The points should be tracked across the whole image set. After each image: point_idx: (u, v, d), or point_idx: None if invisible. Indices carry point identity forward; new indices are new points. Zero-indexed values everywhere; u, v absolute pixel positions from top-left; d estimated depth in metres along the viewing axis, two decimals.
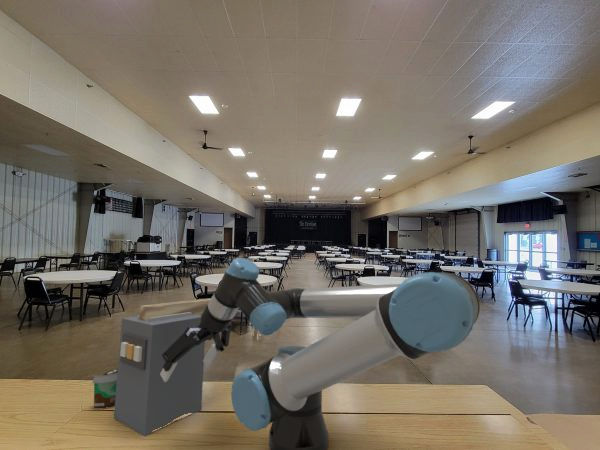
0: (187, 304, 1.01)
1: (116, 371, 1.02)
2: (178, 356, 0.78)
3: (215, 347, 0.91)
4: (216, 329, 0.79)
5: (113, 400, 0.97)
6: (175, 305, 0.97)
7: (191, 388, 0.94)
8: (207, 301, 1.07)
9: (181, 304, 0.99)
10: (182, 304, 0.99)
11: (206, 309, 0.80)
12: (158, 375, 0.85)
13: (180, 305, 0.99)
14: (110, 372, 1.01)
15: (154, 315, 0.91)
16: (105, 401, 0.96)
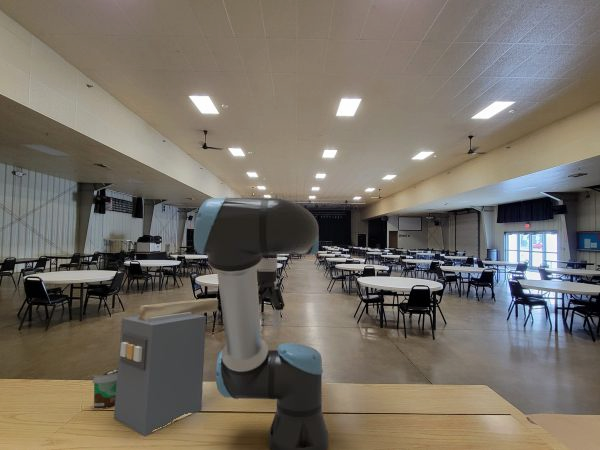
0: (187, 304, 1.01)
1: (116, 371, 1.02)
2: None
3: (276, 309, 1.17)
4: (270, 279, 1.09)
5: (113, 400, 0.97)
6: (175, 305, 0.97)
7: (191, 388, 0.94)
8: (207, 301, 1.07)
9: (181, 304, 0.99)
10: (182, 304, 0.99)
11: (256, 272, 1.11)
12: (158, 375, 0.85)
13: (180, 305, 0.99)
14: (110, 372, 1.01)
15: (154, 315, 0.91)
16: (105, 401, 0.96)
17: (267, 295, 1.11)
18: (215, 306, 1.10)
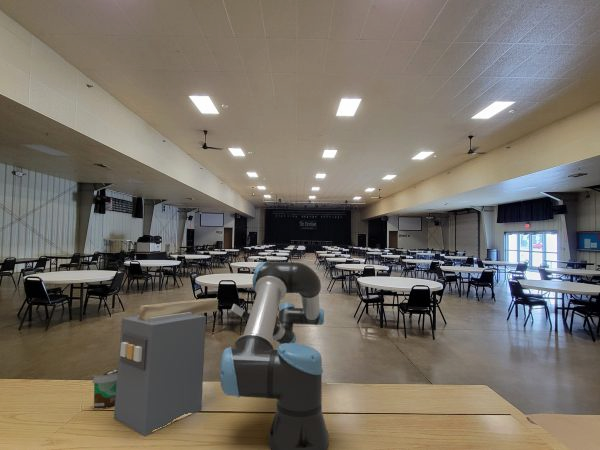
0: (187, 304, 1.01)
1: (116, 371, 1.02)
2: None
3: None
4: None
5: (113, 400, 0.97)
6: (175, 305, 0.97)
7: (191, 388, 0.94)
8: (207, 301, 1.07)
9: (181, 304, 0.99)
10: (182, 304, 0.99)
11: None
12: (158, 375, 0.85)
13: (180, 305, 0.99)
14: (110, 372, 1.01)
15: (154, 315, 0.91)
16: (105, 401, 0.96)
17: None
18: (215, 306, 1.10)
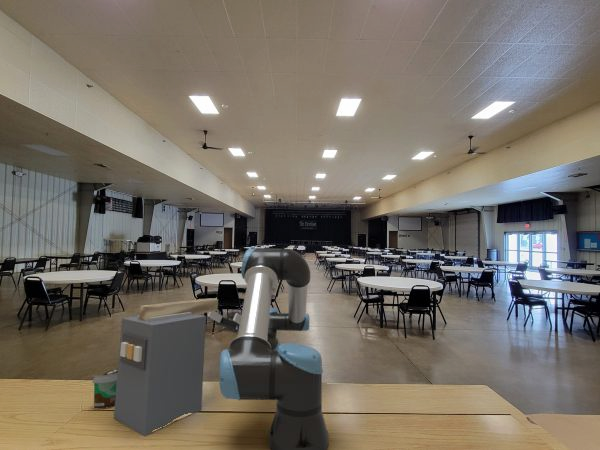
0: (187, 304, 1.01)
1: (116, 371, 1.02)
2: None
3: None
4: None
5: (113, 400, 0.97)
6: (175, 305, 0.97)
7: (191, 388, 0.94)
8: (207, 301, 1.07)
9: (181, 304, 0.99)
10: (182, 304, 0.99)
11: None
12: (158, 375, 0.85)
13: (180, 305, 0.99)
14: (110, 372, 1.01)
15: (154, 315, 0.91)
16: (105, 401, 0.96)
17: None
18: (215, 306, 1.10)
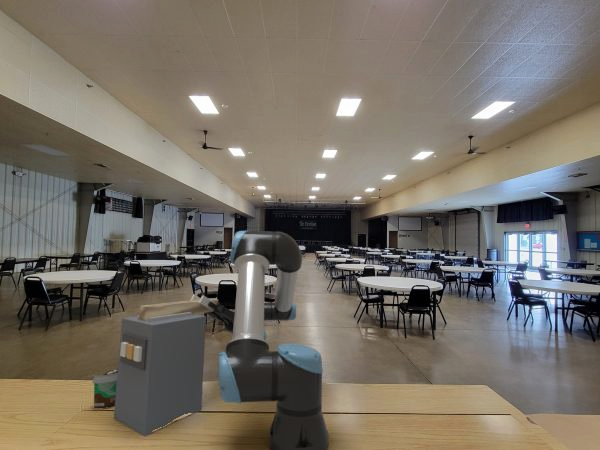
0: (187, 304, 1.01)
1: (116, 371, 1.02)
2: None
3: None
4: None
5: (113, 400, 0.97)
6: (175, 305, 0.97)
7: (191, 388, 0.94)
8: None
9: (181, 304, 0.99)
10: (182, 304, 0.99)
11: None
12: (158, 375, 0.85)
13: (180, 305, 0.99)
14: (110, 372, 1.01)
15: (154, 315, 0.91)
16: (105, 401, 0.96)
17: None
18: None
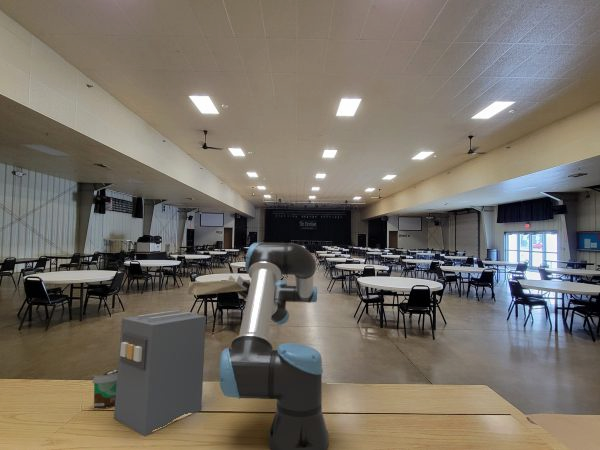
0: (226, 282, 1.15)
1: (116, 371, 1.02)
2: None
3: None
4: None
5: (113, 400, 0.97)
6: (217, 282, 1.12)
7: (191, 388, 0.94)
8: None
9: (221, 282, 1.13)
10: (222, 282, 1.14)
11: None
12: (158, 375, 0.85)
13: (221, 283, 1.13)
14: (110, 372, 1.01)
15: (201, 290, 1.06)
16: (105, 401, 0.96)
17: None
18: None
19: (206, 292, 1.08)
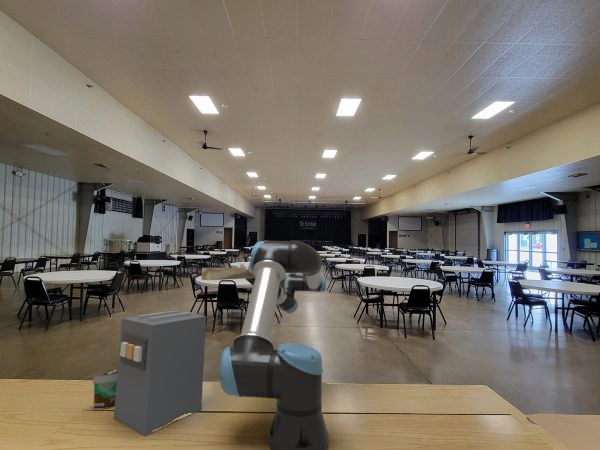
0: (237, 269, 1.18)
1: (116, 371, 1.02)
2: None
3: None
4: None
5: (113, 400, 0.97)
6: (229, 269, 1.14)
7: (191, 388, 0.94)
8: None
9: (233, 269, 1.16)
10: (234, 269, 1.16)
11: None
12: (158, 375, 0.85)
13: (233, 270, 1.15)
14: (110, 372, 1.01)
15: (214, 275, 1.08)
16: (105, 401, 0.96)
17: None
18: None
19: (219, 278, 1.10)
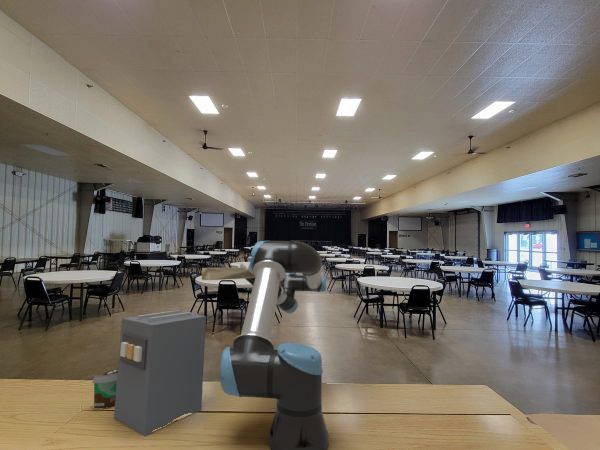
0: (237, 269, 1.17)
1: (116, 371, 1.02)
2: None
3: None
4: None
5: (113, 400, 0.97)
6: (229, 269, 1.14)
7: (191, 388, 0.94)
8: None
9: (233, 269, 1.16)
10: (234, 269, 1.16)
11: None
12: (158, 375, 0.85)
13: (233, 270, 1.15)
14: (110, 372, 1.01)
15: (214, 275, 1.08)
16: (105, 401, 0.96)
17: None
18: None
19: (219, 278, 1.10)
